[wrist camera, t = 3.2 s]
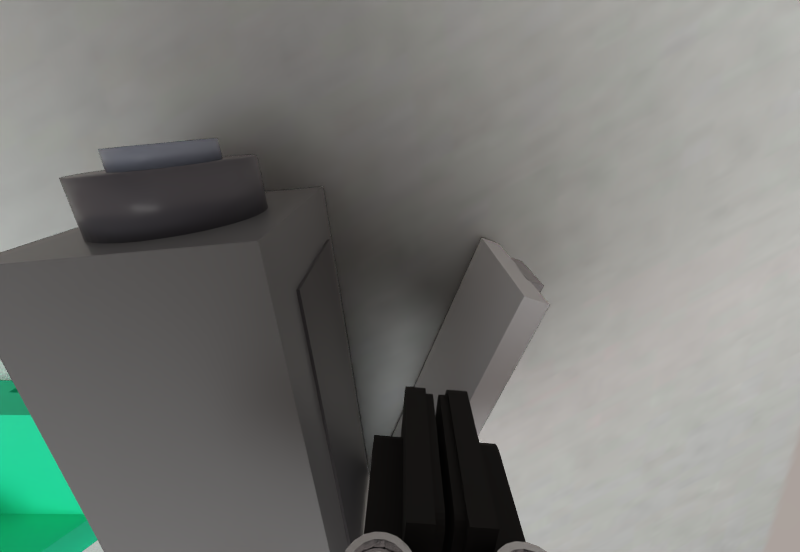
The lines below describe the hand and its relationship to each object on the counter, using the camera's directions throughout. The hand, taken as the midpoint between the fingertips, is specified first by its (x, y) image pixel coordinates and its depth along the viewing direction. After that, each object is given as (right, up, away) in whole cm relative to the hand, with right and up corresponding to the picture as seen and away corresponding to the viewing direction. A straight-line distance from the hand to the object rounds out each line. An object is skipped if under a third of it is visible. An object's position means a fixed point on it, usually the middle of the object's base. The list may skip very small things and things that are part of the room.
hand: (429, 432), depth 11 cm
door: (+1, -1, +8) cm, 9 cm away
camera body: (-7, +1, +8) cm, 10 cm away
